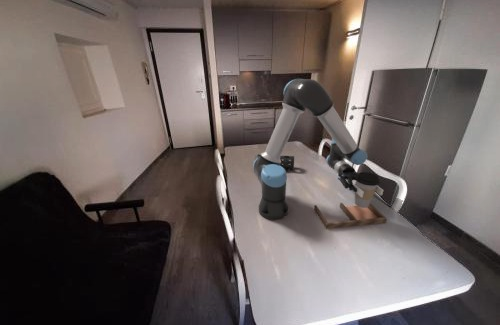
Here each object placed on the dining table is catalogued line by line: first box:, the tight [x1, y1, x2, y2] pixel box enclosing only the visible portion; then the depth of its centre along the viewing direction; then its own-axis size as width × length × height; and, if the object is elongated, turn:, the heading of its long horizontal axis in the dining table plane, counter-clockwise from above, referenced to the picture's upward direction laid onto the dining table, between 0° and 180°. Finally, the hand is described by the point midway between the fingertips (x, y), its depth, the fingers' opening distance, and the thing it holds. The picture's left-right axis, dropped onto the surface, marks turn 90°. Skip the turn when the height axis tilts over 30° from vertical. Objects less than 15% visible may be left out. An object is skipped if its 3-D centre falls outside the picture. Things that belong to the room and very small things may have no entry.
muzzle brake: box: [253, 153, 295, 170], centre depth 143 cm, size 10×28×10 cm, turn 79°
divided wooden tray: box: [313, 202, 388, 230], centre depth 95 cm, size 28×14×2 cm, turn 95°
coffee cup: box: [354, 171, 381, 208], centre depth 90 cm, size 9×9×15 cm
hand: (372, 193), depth 85 cm, fingers closed on coffee cup, 8 cm apart
